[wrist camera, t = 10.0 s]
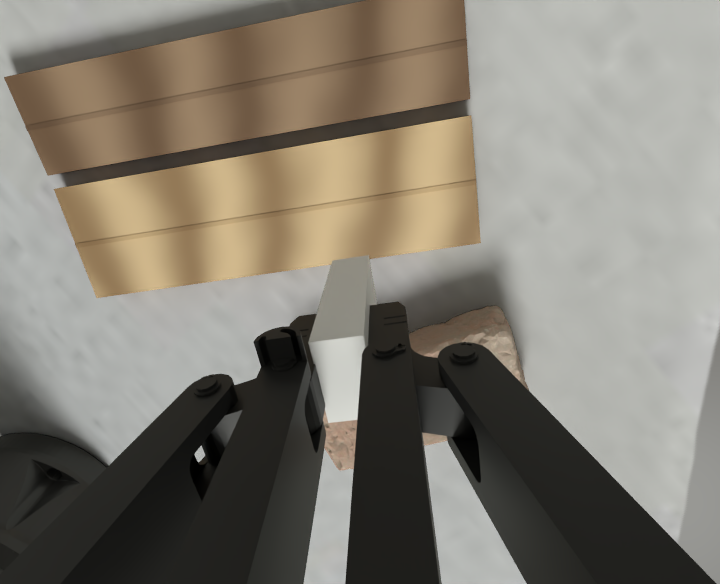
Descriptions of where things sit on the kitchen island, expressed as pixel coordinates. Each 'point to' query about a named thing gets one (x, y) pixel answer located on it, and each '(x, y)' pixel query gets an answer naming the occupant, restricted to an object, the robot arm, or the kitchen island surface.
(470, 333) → the brick
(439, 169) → the plank
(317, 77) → the laid row
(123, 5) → the kitchen island surface
